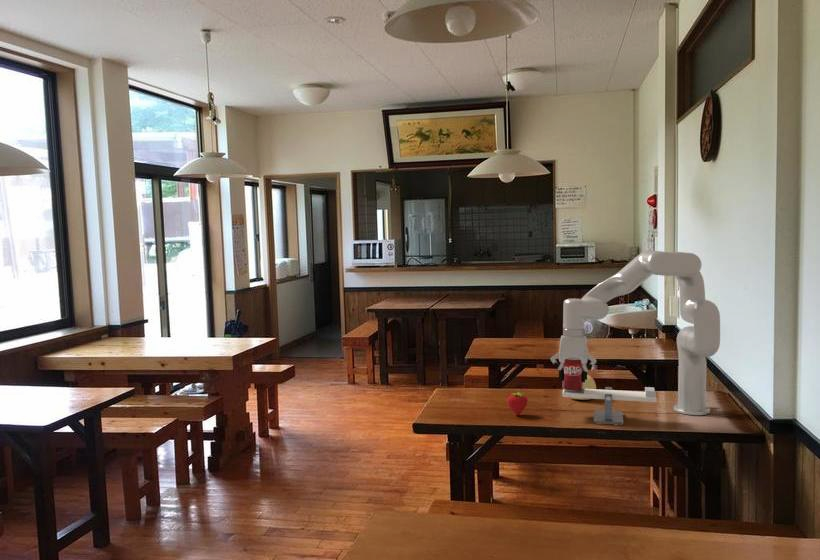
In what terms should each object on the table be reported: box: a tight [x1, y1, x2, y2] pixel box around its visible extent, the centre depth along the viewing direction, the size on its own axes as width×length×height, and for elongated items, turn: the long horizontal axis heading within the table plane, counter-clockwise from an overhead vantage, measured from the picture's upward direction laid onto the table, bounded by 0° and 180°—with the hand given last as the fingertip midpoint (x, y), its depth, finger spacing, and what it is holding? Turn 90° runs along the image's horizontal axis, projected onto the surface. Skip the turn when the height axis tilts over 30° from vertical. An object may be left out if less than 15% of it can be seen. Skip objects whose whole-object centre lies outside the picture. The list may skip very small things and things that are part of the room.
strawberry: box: [506, 388, 528, 416], centre depth 250 cm, size 6×8×10 cm
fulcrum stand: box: [593, 386, 624, 426], centre depth 242 cm, size 10×14×10 cm
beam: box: [561, 386, 658, 403], centre depth 242 cm, size 32×8×4 cm, turn 73°
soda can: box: [562, 358, 584, 392], centre depth 245 cm, size 7×7×12 cm
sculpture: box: [569, 374, 597, 401], centre depth 271 cm, size 11×12×11 cm
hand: (572, 380), depth 245 cm, fingers closed on soda can, 7 cm apart
